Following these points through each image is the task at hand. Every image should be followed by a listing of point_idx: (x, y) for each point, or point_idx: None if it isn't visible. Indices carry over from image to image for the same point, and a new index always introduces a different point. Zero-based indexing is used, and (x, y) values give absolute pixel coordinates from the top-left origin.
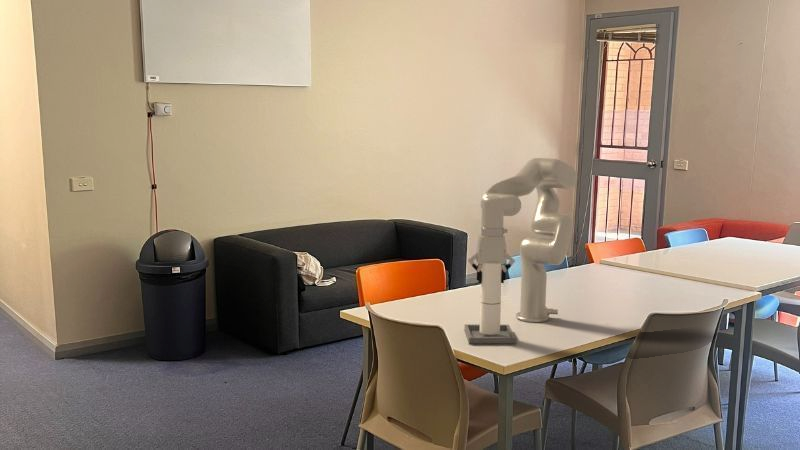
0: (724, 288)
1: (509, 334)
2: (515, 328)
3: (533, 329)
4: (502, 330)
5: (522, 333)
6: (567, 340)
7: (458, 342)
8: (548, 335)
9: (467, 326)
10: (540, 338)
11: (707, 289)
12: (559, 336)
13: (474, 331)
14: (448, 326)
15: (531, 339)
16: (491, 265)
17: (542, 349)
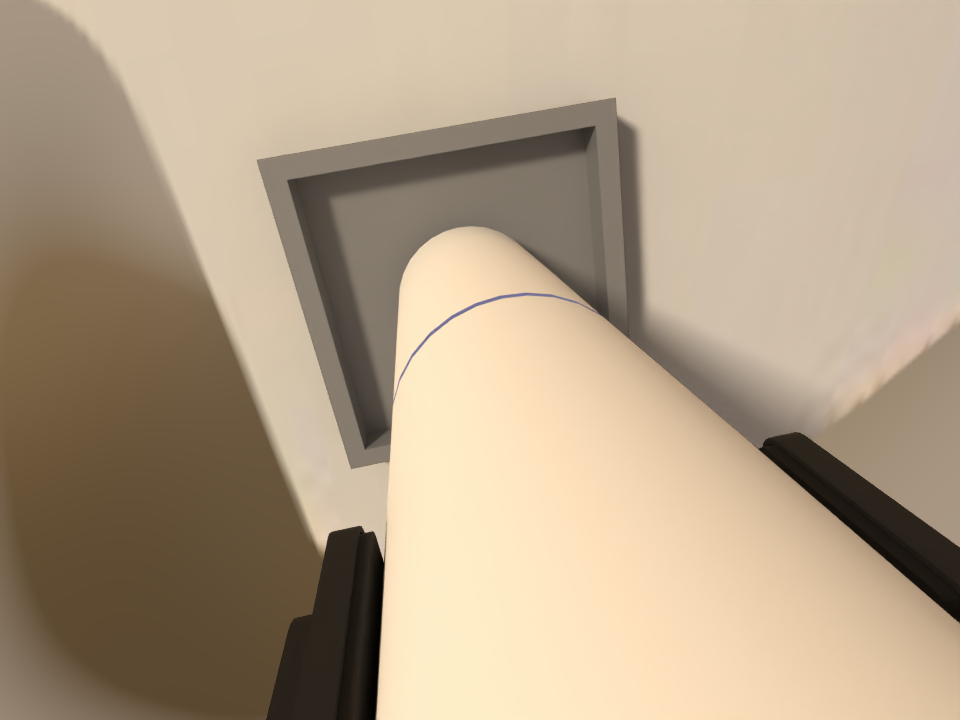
0: None
1: (599, 279)
2: (656, 11)
3: (784, 19)
4: (556, 140)
5: (688, 147)
6: (921, 252)
7: (285, 422)
8: (845, 164)
9: (292, 216)
10: (779, 242)
11: None
12: (905, 175)
13: (353, 207)
14: (102, 40)
15: (721, 274)
16: None
17: (742, 434)
